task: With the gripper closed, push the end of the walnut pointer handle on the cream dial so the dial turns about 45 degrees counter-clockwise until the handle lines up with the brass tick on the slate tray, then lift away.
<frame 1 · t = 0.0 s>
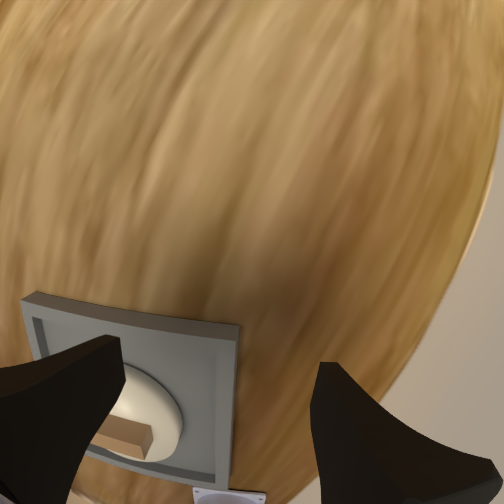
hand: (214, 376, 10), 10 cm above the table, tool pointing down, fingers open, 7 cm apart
slate tray: (132, 400, 23), on the table
dial: (100, 420, 20), point 4 cm above the table, hinge at 0.0°
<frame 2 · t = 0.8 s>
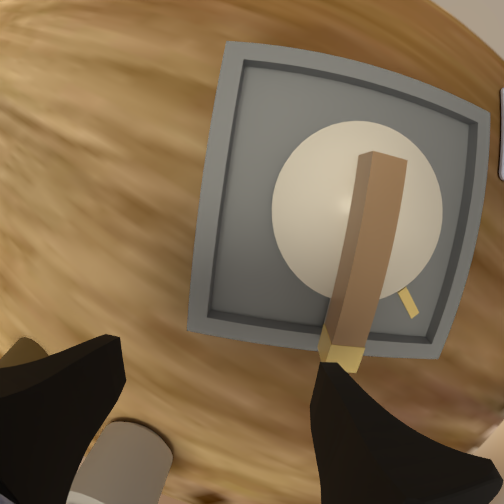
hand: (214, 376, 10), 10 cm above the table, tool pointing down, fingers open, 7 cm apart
can: (140, 440, 25), on the table
slate tray: (350, 208, 19), on the table
dial: (361, 243, 15), point 4 cm above the table, hinge at 0.0°
cork: (36, 362, 24), on the table
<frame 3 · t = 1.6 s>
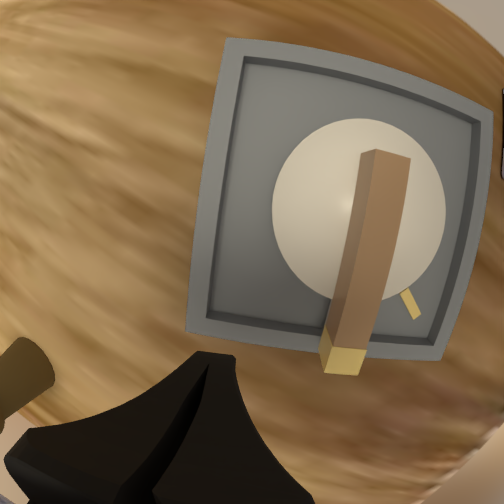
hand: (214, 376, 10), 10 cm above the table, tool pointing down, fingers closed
slate tray: (351, 207, 18), on the table
dial: (363, 242, 15), point 4 cm above the table, hinge at 0.0°
cork: (34, 362, 24), on the table
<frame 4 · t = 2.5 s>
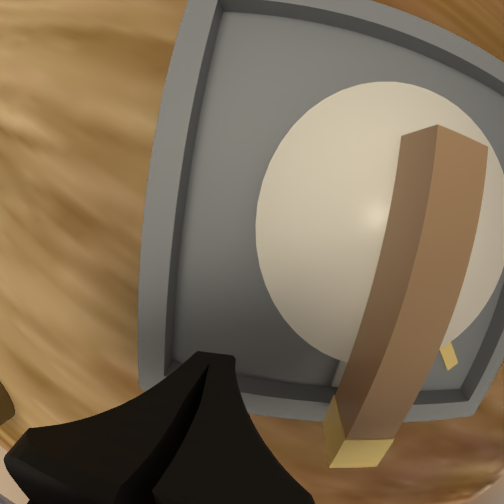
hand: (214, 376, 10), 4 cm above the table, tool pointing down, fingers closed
slate tray: (377, 220, 12), on the table
dial: (400, 280, 9), point 4 cm above the table, hinge at 0.0°
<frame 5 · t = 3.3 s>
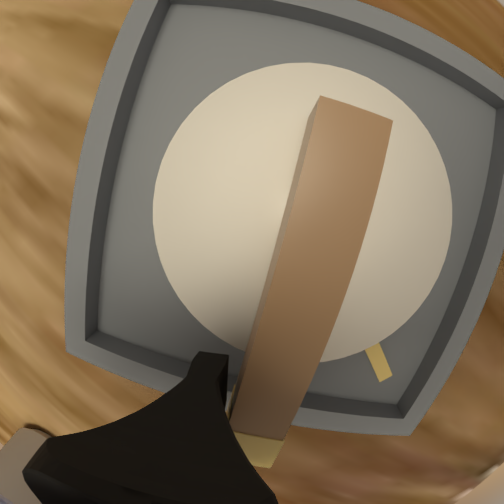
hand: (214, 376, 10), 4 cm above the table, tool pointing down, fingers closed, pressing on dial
can: (54, 451, 18), on the table
slate tray: (302, 210, 12), on the table
dial: (299, 270, 9), point 4 cm above the table, hinge at 0.9°, touching gripper
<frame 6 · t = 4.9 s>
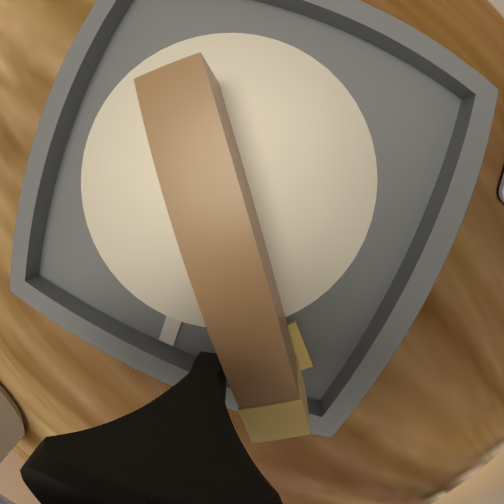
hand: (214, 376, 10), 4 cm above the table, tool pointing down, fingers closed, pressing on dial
can: (2, 400, 18), on the table
slate tray: (230, 178, 12), on the table
dial: (228, 227, 9), point 4 cm above the table, hinge at 38.4°, touching gripper
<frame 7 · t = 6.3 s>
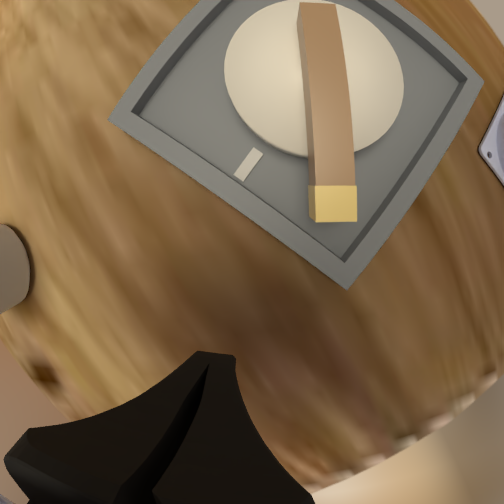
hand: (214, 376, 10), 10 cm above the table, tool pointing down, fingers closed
can: (11, 261, 21), on the table
slate tray: (310, 85, 17), on the table
dial: (321, 92, 14), point 4 cm above the table, hinge at 38.5°
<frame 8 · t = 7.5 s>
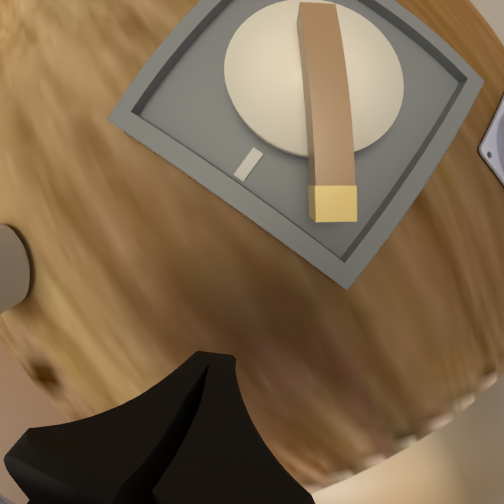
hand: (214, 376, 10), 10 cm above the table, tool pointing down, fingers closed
can: (11, 261, 21), on the table
slate tray: (310, 85, 17), on the table
dial: (321, 92, 14), point 4 cm above the table, hinge at 38.5°
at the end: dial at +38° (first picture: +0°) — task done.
